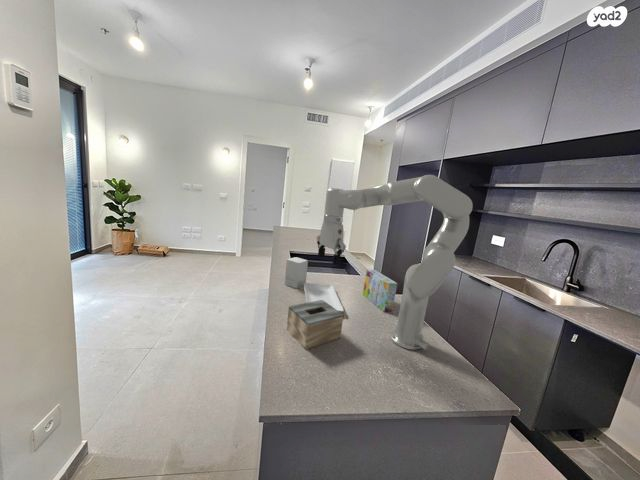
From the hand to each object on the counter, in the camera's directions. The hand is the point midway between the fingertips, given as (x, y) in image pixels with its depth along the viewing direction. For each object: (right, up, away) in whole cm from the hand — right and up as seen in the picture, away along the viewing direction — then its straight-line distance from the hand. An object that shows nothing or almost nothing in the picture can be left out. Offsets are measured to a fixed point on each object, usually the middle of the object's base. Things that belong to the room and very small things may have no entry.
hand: (328, 260), depth 110 cm
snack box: (+26, -25, +31) cm, 47 cm away
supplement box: (-18, -17, +42) cm, 49 cm away
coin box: (-6, -28, -6) cm, 30 cm away
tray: (-3, -23, +25) cm, 34 cm away
